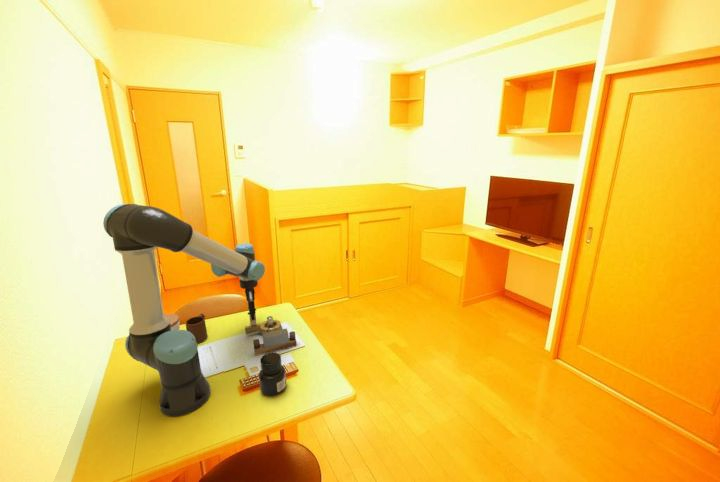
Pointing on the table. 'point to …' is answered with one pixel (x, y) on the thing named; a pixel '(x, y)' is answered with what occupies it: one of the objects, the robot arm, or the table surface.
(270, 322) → the nut station
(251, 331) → the golden ring with handle
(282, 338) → the bar
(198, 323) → the mug
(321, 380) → the table surface
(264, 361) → the ink bottle
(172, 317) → the lidded bowl
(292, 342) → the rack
